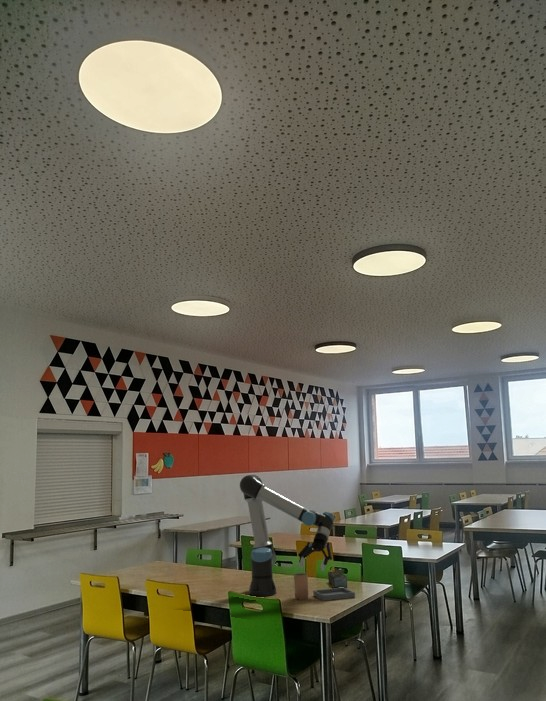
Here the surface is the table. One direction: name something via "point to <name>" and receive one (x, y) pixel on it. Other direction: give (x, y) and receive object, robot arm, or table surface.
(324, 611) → the table surface
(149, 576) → the table surface
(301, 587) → the terracotta cup
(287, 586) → the table surface
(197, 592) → the table surface
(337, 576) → the beverage carton
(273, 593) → the robot arm
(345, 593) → the grey square tray
